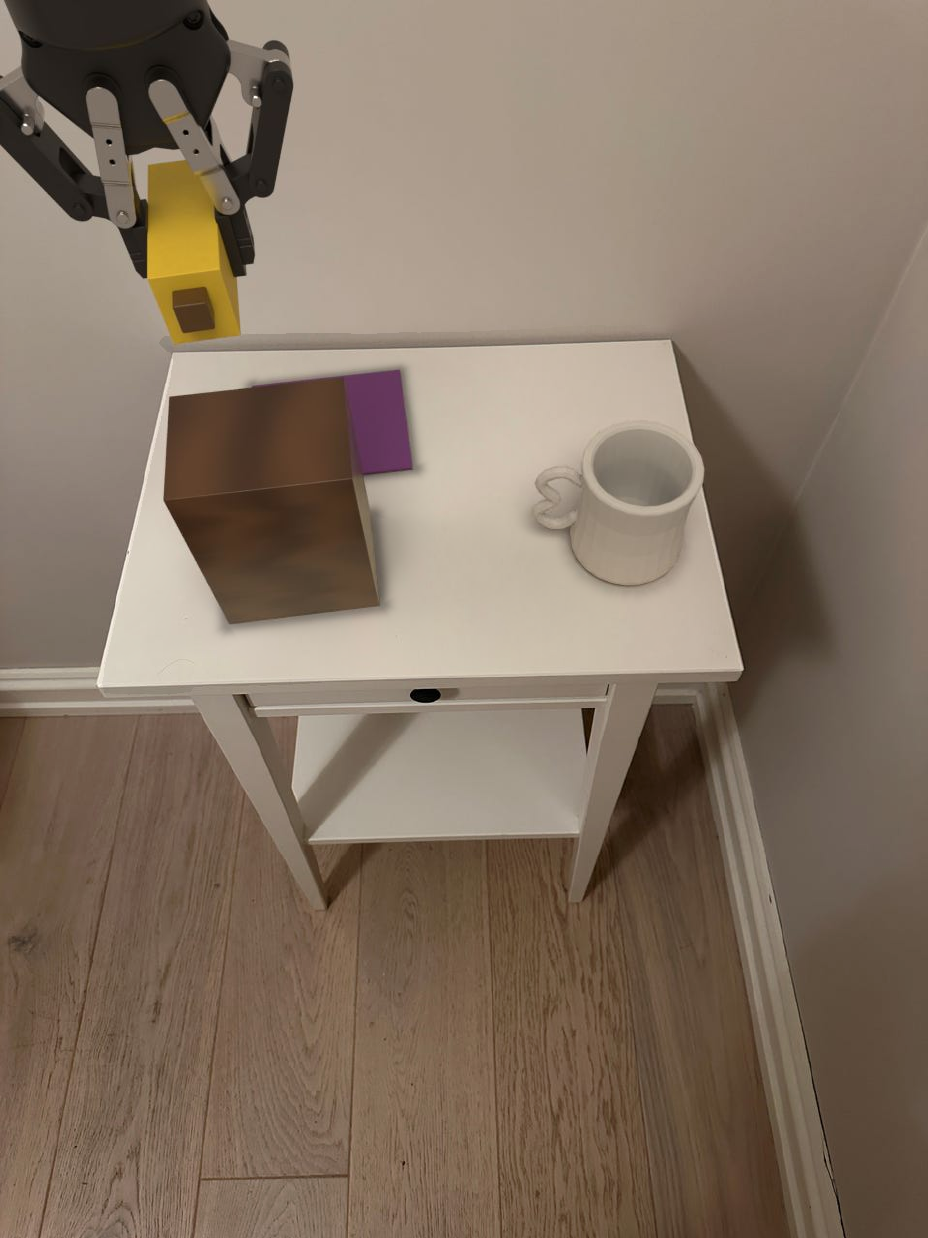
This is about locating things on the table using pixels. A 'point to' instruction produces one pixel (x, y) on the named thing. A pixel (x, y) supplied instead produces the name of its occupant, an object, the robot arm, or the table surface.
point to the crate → (272, 498)
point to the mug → (628, 500)
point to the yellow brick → (188, 257)
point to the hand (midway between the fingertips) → (200, 270)
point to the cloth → (377, 420)
